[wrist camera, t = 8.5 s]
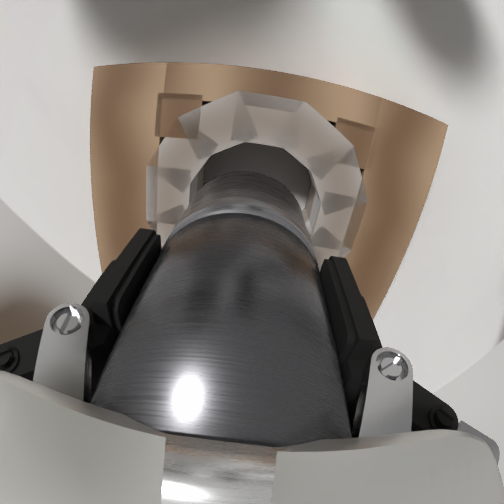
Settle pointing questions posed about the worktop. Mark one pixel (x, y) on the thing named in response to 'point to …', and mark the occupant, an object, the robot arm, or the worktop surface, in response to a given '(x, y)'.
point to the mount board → (267, 133)
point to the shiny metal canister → (230, 345)
